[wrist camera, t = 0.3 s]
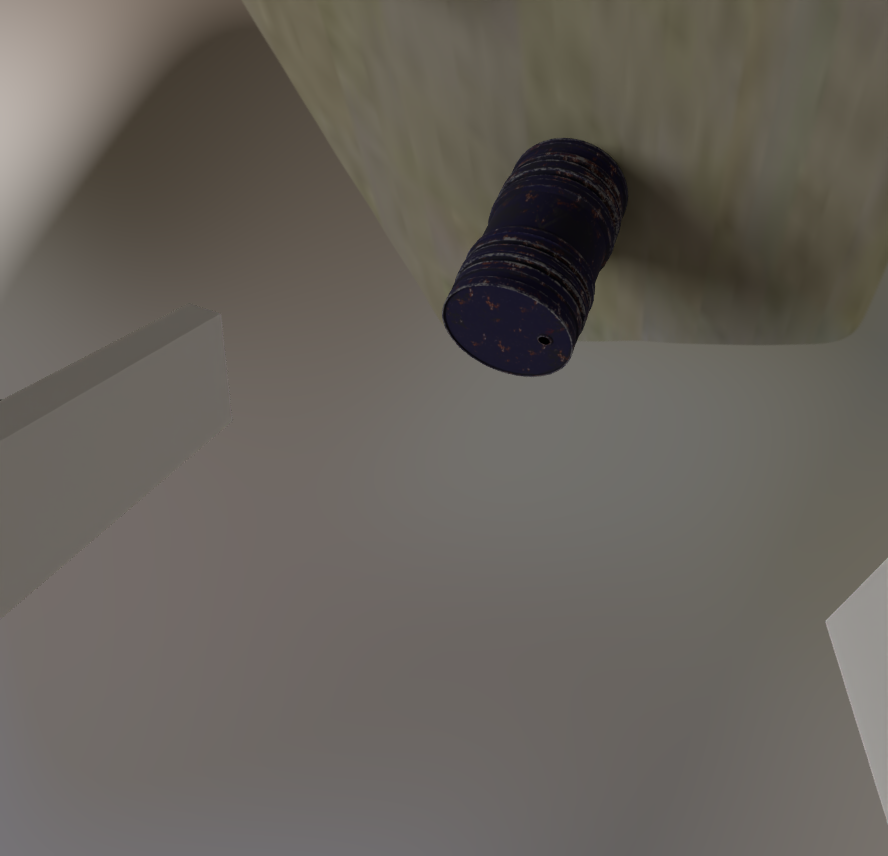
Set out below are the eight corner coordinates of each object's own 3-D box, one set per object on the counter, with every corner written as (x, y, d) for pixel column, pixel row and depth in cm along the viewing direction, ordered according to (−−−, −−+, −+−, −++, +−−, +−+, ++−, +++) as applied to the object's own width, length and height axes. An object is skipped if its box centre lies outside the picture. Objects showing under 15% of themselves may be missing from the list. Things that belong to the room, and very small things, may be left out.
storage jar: (518, 238, 50) (458, 365, 44) (500, 137, 42) (423, 276, 36) (628, 246, 46) (578, 387, 40) (632, 135, 38) (570, 292, 32)
